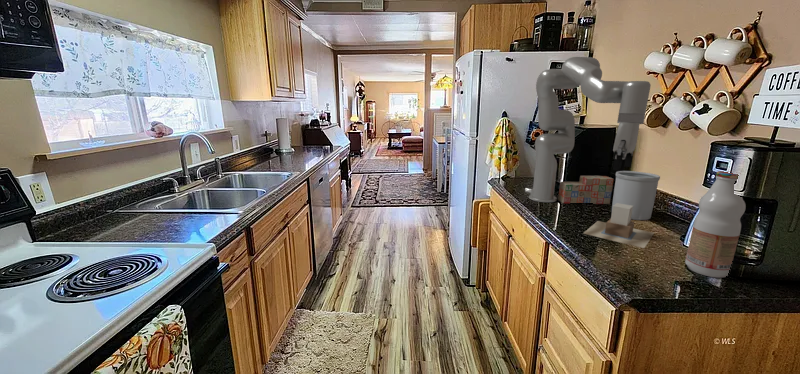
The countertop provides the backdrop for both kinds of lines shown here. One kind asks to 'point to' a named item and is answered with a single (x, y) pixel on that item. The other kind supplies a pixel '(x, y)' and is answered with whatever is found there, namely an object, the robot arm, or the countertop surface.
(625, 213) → the cream block
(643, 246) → the board
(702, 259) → the fruit juice
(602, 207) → the countertop surface
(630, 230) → the walnut foundation
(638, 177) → the utensil holder
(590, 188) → the stack of blocks
